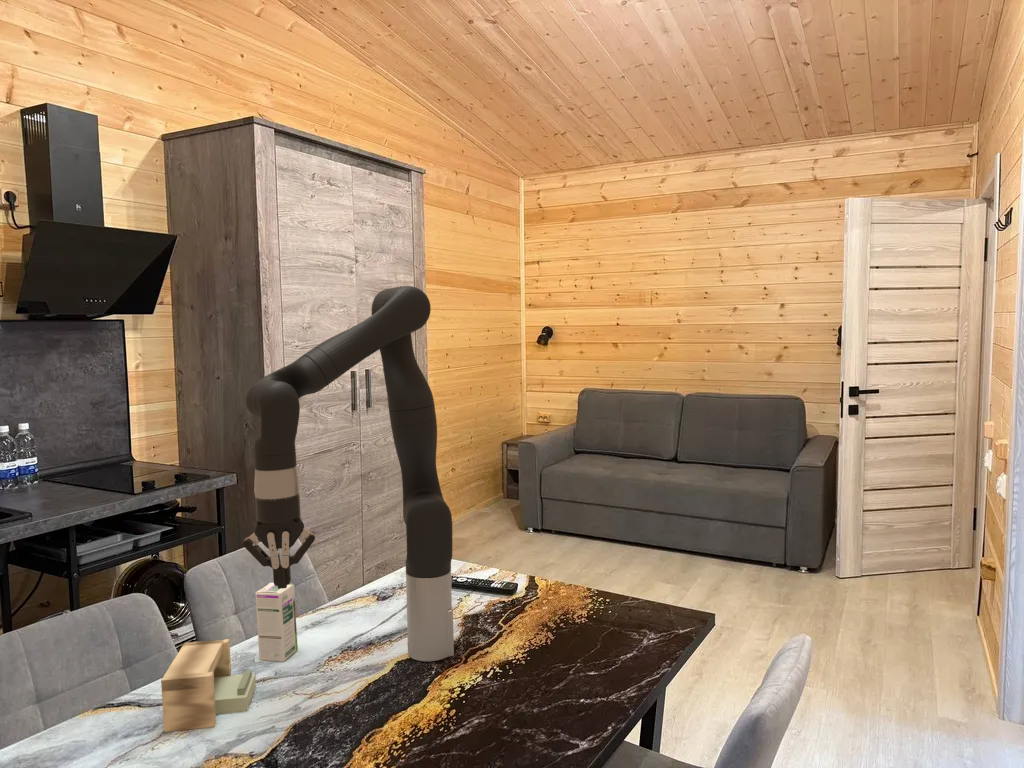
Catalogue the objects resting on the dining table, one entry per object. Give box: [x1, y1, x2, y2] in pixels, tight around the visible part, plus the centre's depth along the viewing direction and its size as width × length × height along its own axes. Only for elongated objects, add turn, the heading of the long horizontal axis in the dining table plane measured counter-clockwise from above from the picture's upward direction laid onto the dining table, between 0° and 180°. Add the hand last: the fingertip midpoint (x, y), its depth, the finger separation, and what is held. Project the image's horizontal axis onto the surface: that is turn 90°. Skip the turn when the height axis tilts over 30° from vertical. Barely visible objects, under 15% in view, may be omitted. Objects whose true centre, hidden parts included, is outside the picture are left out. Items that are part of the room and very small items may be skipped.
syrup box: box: [254, 582, 299, 663], centre depth 153 cm, size 6×6×14 cm
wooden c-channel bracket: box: [160, 638, 232, 733], centre depth 133 cm, size 8×15×9 cm, turn 10°
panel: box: [214, 669, 257, 715], centre depth 135 cm, size 11×9×4 cm
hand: (282, 587), depth 134 cm, fingers closed
